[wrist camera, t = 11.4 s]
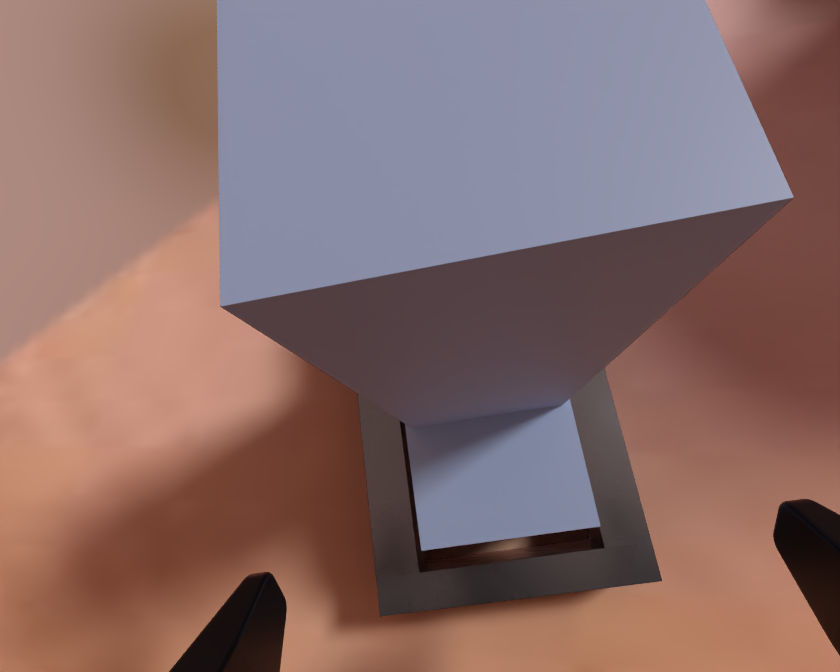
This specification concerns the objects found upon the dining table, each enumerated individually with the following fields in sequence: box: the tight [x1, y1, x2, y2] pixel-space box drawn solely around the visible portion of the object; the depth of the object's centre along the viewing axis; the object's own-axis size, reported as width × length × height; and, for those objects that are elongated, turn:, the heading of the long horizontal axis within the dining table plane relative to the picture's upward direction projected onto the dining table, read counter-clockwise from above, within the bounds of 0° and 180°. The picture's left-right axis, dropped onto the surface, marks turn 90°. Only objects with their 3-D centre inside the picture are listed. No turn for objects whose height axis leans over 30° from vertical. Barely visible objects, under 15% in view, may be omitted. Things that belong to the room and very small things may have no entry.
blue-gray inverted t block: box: [217, 0, 794, 551], centre depth 10 cm, size 10×4×14 cm, turn 8°
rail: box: [357, 369, 662, 616], centre depth 16 cm, size 14×8×2 cm, turn 8°
